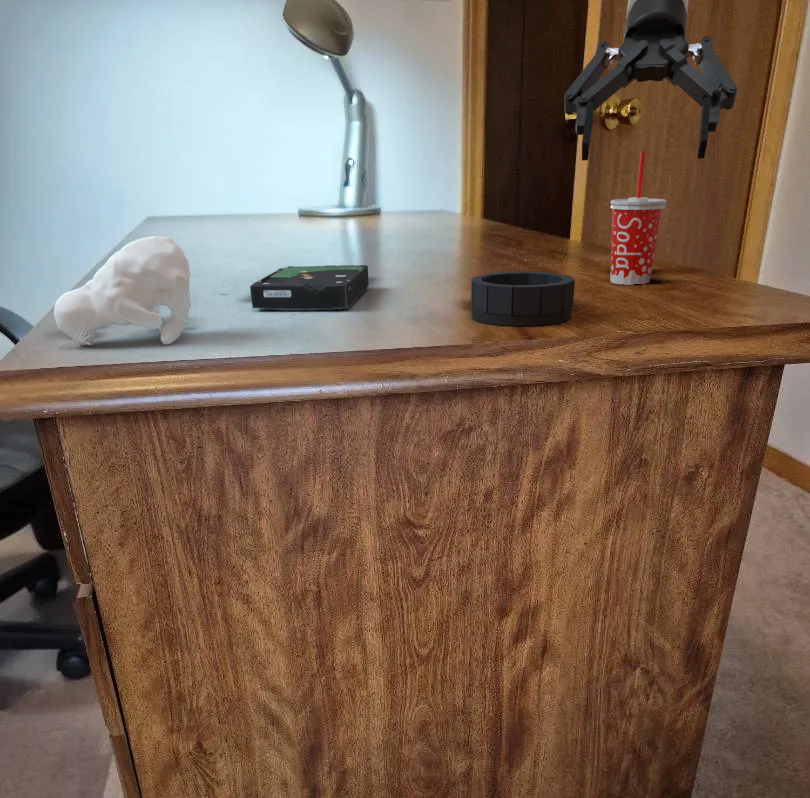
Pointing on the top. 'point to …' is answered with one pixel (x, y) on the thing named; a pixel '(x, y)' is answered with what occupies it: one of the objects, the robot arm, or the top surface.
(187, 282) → the white lumpy figure
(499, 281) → the segmented ring
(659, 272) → the top surface
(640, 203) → the beverage cup
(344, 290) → the disk drive
